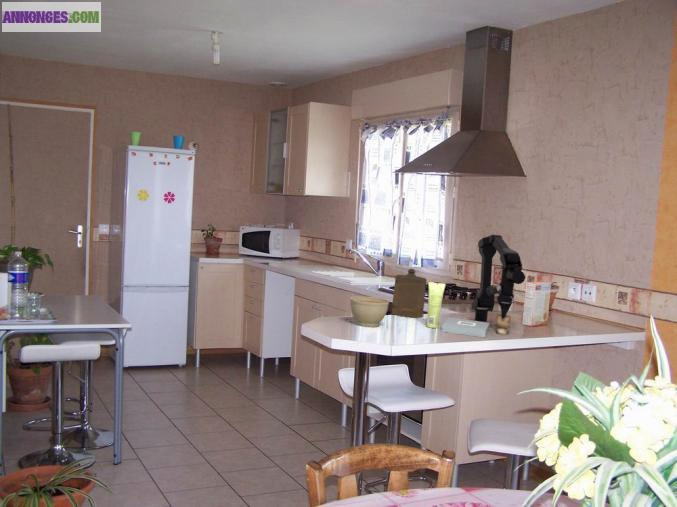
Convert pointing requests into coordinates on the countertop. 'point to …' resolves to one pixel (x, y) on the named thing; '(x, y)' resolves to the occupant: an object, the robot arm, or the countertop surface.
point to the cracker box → (536, 303)
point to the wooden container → (409, 295)
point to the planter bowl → (368, 310)
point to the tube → (434, 303)
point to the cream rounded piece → (502, 324)
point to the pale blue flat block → (465, 327)
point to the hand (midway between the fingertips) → (503, 316)
